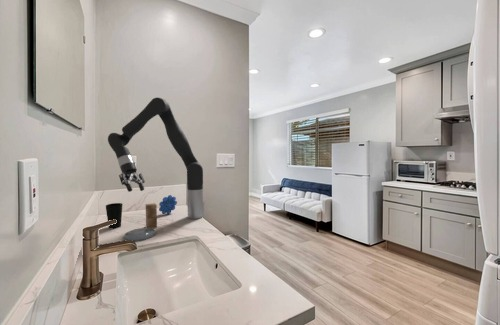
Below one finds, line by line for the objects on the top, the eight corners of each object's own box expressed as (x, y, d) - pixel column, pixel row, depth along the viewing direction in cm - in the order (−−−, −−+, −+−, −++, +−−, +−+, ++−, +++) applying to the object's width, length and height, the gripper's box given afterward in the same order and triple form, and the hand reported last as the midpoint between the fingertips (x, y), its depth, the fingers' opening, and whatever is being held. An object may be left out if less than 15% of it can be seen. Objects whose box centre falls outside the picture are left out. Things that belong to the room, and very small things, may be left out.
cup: (115, 230, 115) (114, 206, 114) (102, 229, 116) (101, 206, 116) (126, 225, 122) (125, 203, 122) (114, 224, 124) (113, 202, 123)
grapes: (174, 210, 151) (174, 193, 151) (178, 212, 146) (178, 194, 145) (156, 214, 144) (156, 195, 143) (160, 216, 138) (160, 197, 138)
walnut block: (155, 225, 123) (154, 203, 122) (157, 227, 119) (156, 204, 118) (146, 226, 120) (145, 204, 120) (147, 229, 116) (147, 206, 116)
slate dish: (151, 228, 116) (151, 226, 116) (157, 236, 106) (157, 233, 106) (123, 234, 109) (123, 231, 109) (126, 243, 98) (126, 240, 98)
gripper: (121, 160, 120) (131, 188, 116) (141, 162, 133) (151, 187, 130) (111, 167, 121) (121, 194, 118) (132, 168, 135) (141, 192, 132)
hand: (136, 190), depth 124 cm, fingers open, 8 cm apart
